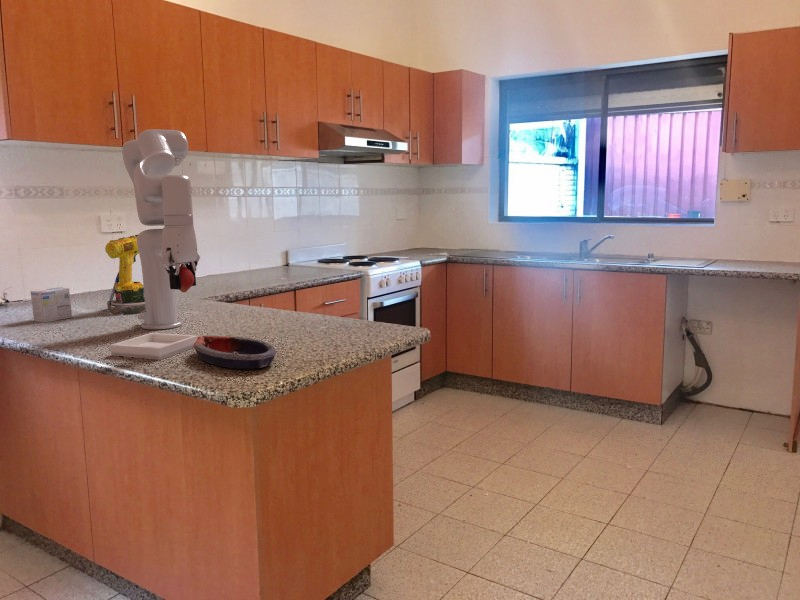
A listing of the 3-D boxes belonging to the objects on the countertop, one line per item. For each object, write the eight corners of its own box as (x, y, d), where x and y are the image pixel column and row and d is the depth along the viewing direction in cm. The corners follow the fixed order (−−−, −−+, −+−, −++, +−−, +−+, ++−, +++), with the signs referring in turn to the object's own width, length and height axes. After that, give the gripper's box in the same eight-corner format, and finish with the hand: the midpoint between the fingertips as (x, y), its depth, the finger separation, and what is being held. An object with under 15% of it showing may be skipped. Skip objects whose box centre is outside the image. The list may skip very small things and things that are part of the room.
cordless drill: (166, 310, 243) (160, 236, 238) (110, 316, 234) (103, 238, 229) (157, 304, 259) (152, 234, 254) (105, 309, 250) (98, 236, 245)
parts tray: (111, 355, 175) (110, 344, 174) (152, 342, 189) (151, 332, 189) (160, 359, 169) (159, 348, 169) (198, 346, 184) (198, 335, 183)
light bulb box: (62, 316, 236) (59, 286, 234) (73, 317, 232) (70, 287, 231) (32, 321, 227) (29, 290, 225) (43, 323, 223) (40, 291, 222)
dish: (237, 378, 152) (236, 357, 151) (178, 356, 174) (177, 338, 173) (293, 365, 162) (292, 345, 161) (230, 346, 184) (229, 329, 183)
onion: (169, 292, 180) (166, 263, 178) (188, 290, 184) (186, 261, 183) (179, 294, 176) (177, 265, 175) (198, 292, 180) (197, 263, 179)
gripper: (186, 219, 186) (190, 282, 189) (145, 223, 170) (151, 291, 173) (209, 219, 183) (213, 283, 187) (170, 223, 167) (175, 292, 170)
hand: (183, 286), depth 180 cm, fingers closed on onion, 5 cm apart
